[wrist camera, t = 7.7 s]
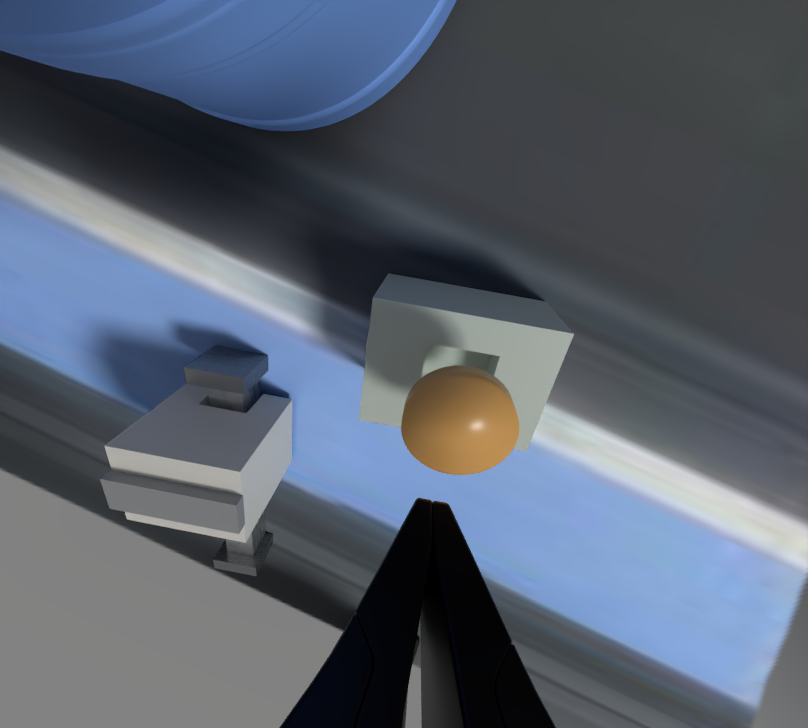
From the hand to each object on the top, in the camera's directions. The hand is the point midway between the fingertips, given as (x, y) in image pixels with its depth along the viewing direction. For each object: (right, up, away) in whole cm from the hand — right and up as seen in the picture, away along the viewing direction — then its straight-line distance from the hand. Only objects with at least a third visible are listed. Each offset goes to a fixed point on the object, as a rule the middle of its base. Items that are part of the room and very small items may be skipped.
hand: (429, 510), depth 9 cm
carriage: (-11, 0, +14) cm, 18 cm away
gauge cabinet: (+2, +5, +10) cm, 11 cm away
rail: (-12, -3, +15) cm, 19 cm away
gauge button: (+2, +3, +5) cm, 6 cm away
